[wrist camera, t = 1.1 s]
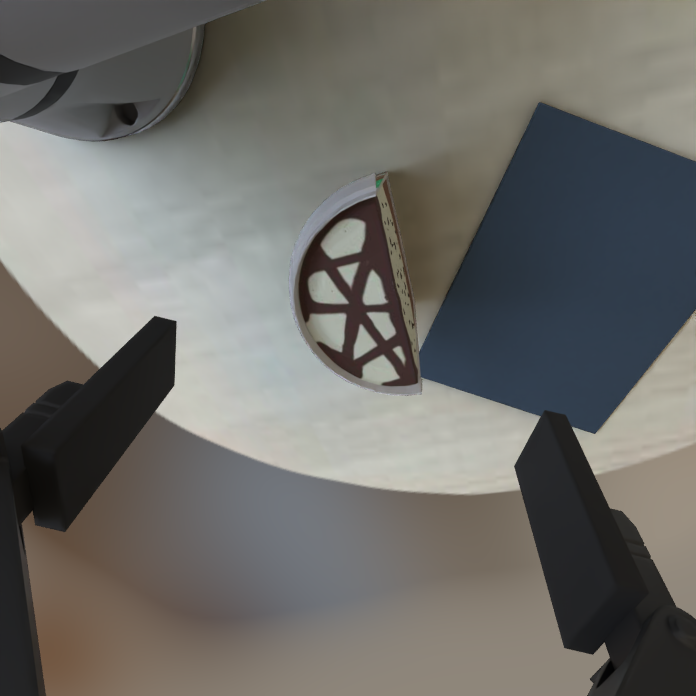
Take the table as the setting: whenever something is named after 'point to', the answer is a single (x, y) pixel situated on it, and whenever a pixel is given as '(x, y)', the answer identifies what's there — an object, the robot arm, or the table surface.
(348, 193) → the food container
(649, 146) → the mat
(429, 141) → the table surface
